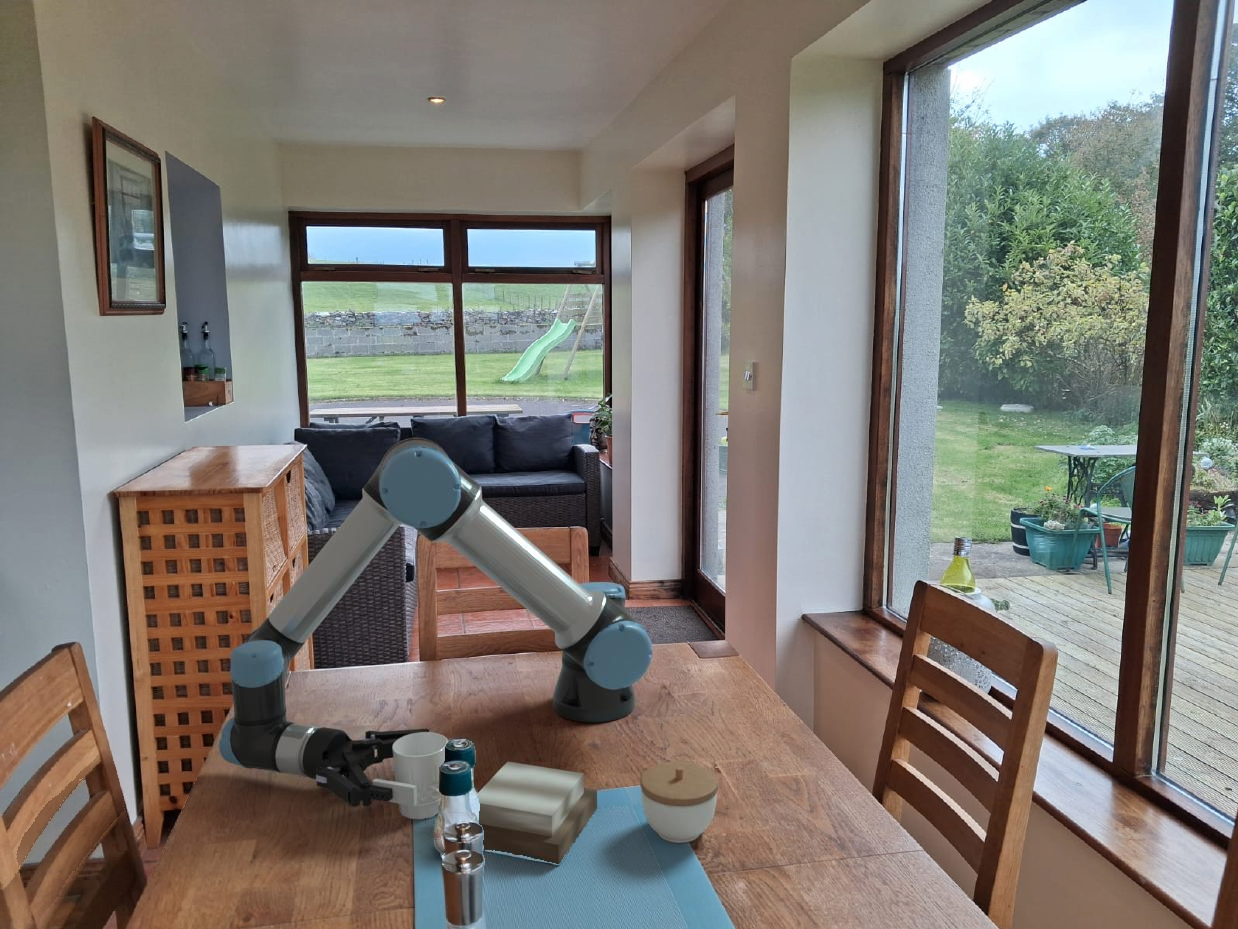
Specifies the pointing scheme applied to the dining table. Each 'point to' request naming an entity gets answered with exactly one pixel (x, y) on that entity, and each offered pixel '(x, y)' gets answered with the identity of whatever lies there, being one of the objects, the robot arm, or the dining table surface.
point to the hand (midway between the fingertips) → (440, 773)
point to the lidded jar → (679, 799)
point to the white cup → (420, 770)
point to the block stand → (534, 811)
